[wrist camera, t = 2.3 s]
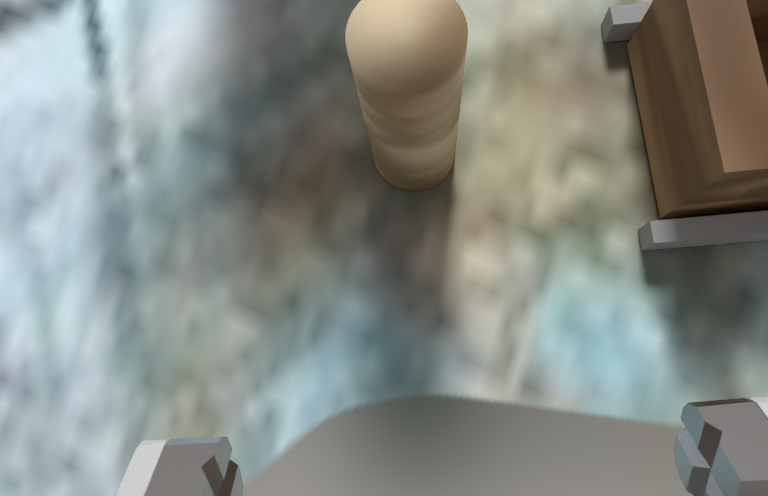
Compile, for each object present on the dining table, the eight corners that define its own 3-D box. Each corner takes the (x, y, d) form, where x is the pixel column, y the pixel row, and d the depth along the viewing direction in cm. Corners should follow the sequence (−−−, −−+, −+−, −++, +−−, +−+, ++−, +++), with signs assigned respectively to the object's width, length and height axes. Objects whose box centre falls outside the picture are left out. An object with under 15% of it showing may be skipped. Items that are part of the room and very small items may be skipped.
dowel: (358, 167, 29) (322, 56, 19) (399, 102, 29) (384, -38, 20) (429, 205, 28) (428, 110, 18) (469, 138, 29) (489, 11, 19)
